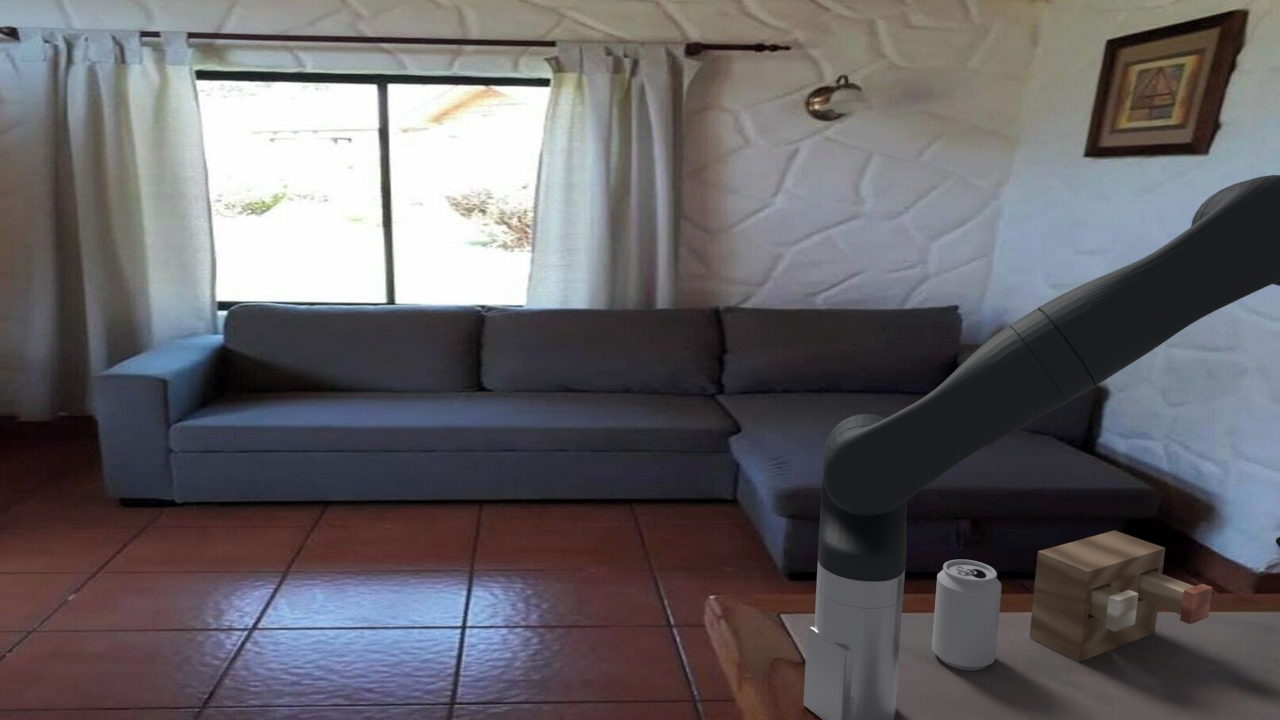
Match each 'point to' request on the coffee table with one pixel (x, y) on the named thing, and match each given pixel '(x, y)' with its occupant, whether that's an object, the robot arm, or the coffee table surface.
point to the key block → (1068, 592)
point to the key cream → (1113, 607)
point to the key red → (1176, 596)
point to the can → (966, 614)
